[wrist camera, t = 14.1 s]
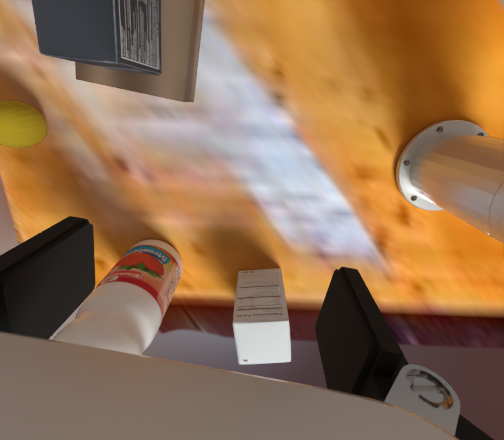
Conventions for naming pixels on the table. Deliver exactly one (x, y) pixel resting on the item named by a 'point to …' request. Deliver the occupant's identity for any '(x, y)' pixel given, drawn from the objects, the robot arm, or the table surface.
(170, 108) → the table surface
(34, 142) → the lemon
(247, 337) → the supplement box
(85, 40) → the small box
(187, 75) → the walnut block
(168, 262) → the fruit juice
